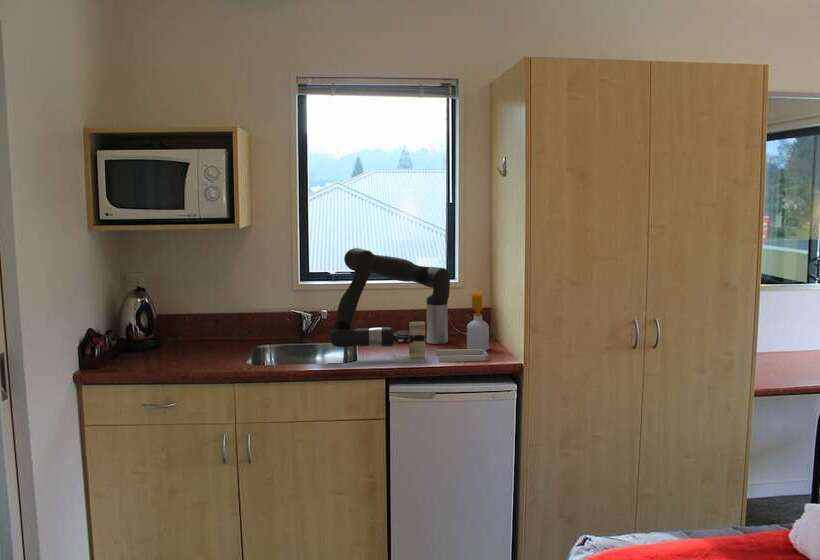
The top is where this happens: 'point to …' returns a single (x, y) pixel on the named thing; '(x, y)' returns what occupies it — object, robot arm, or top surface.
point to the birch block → (418, 346)
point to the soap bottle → (477, 326)
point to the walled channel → (463, 355)
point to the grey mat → (408, 358)
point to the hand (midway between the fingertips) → (423, 336)
